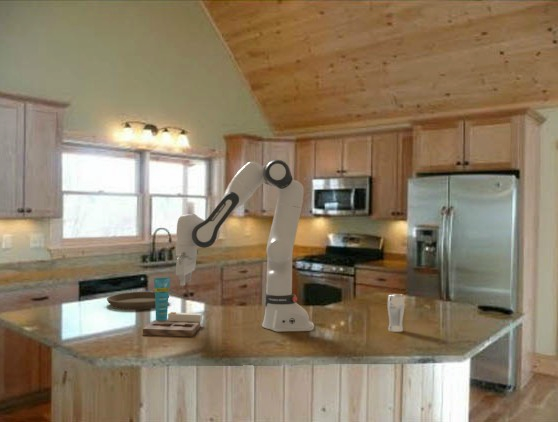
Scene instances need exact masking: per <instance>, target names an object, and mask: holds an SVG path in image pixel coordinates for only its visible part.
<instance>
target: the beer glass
mask: <svg viewBox="0 0 558 422" xmlns="http://www.w3.org/2000/svg"><path fill="white" fill-rule="evenodd" d="M404 313H405V295H403V294H401V293H391V294H388V296H387V314H388V319H389V320H388V321H389V324H388V328H387V329H388V331H389V332H392V333H402V332H403V330H404V329H403V328H404V327H403V318H404Z"/></svg>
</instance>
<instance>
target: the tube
mask: <svg viewBox="0 0 558 422" xmlns="http://www.w3.org/2000/svg"><path fill="white" fill-rule="evenodd" d="M153 282H154V292H155V305H156V307H155V321H168V307H169V298H170V295H169V294H170V286H171V285H170V284H171V276H169V277H168V276H167V277H154V278H153ZM168 297H169V298H168Z"/></svg>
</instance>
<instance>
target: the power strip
mask: <svg viewBox="0 0 558 422" xmlns="http://www.w3.org/2000/svg"><path fill="white" fill-rule="evenodd" d="M167 321H189V322H200V323H201V322H202V321H203V312H202V313H201V312H200V313H199V312H197V313H196V312H176V311H171V312H169V313H167Z"/></svg>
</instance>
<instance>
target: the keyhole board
mask: <svg viewBox="0 0 558 422" xmlns="http://www.w3.org/2000/svg"><path fill="white" fill-rule="evenodd" d="M199 329H201V322H189V321H168V320H165V321H157V320H156V319H154V320H152V322H151V321H150V323H149V324H147V325H146V326H145V327H143V328H142V336H167V337H170V336H171V337H193V336H194V335H195V334H196V333H197V332H198V331H199Z"/></svg>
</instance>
